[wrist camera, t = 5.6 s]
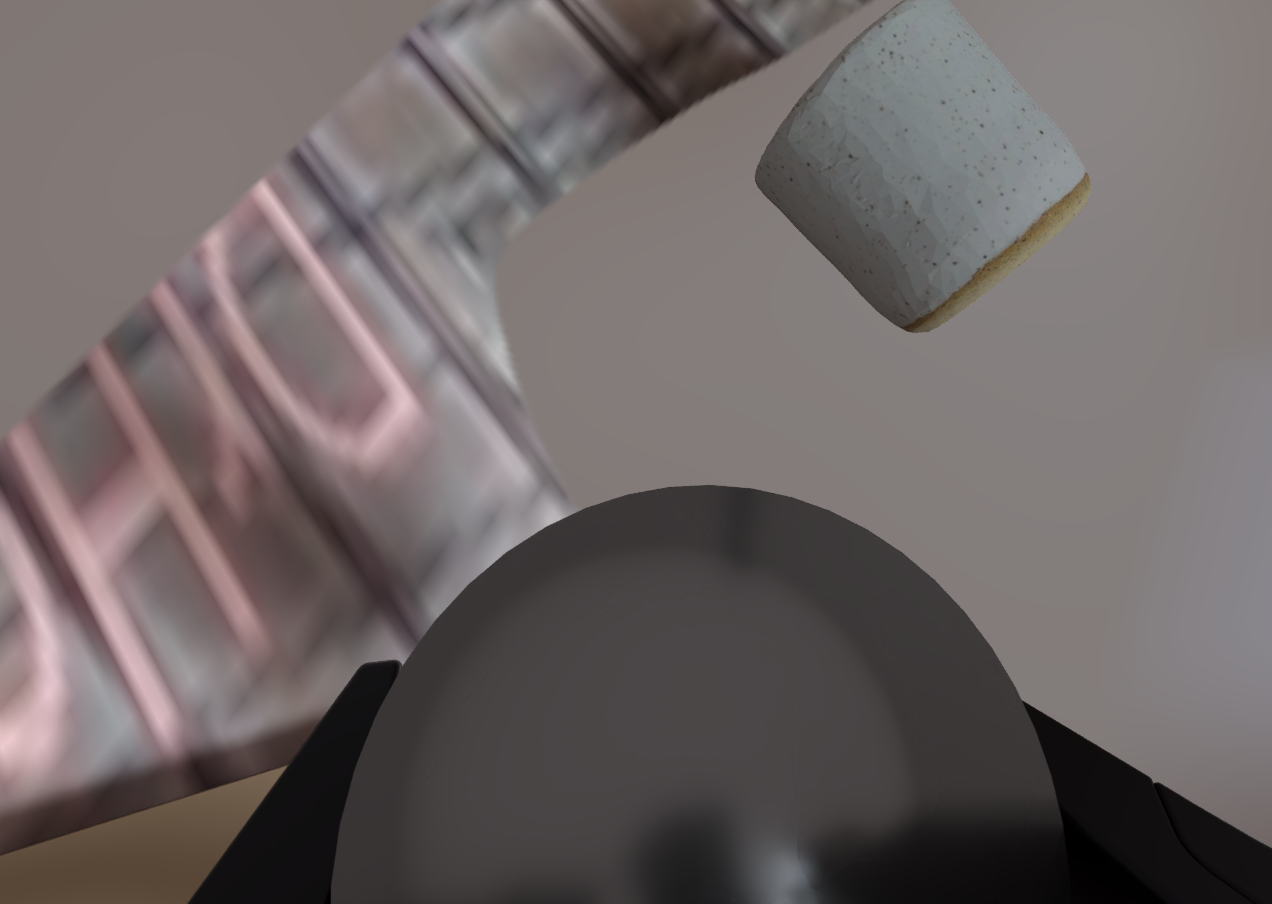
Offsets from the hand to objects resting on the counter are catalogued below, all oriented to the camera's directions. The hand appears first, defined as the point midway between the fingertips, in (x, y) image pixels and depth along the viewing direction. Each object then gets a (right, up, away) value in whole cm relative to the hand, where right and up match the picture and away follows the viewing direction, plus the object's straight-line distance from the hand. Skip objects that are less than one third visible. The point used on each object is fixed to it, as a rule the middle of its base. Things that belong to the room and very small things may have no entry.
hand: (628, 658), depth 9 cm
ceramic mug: (+9, +11, +19) cm, 24 cm away
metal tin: (-1, -3, +6) cm, 7 cm away
